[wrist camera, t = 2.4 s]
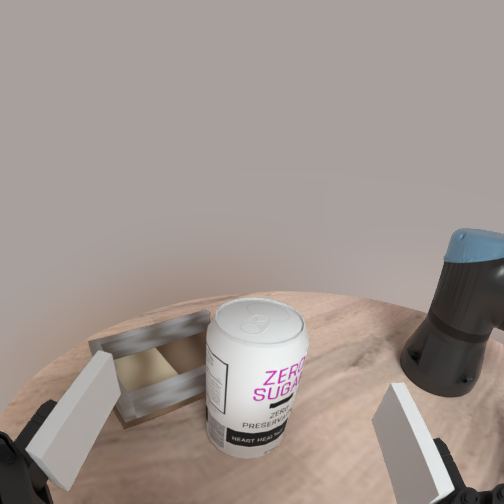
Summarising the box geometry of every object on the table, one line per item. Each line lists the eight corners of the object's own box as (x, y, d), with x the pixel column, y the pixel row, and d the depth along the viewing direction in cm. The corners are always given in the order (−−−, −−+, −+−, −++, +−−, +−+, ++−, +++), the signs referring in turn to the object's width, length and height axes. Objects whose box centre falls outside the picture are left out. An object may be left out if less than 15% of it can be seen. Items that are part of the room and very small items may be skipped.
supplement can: (229, 396, 32) (238, 286, 27) (293, 421, 28) (324, 310, 24) (191, 439, 25) (184, 323, 20) (263, 473, 21) (293, 364, 17)
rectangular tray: (237, 319, 49) (239, 299, 48) (289, 353, 41) (293, 331, 40) (91, 365, 32) (85, 342, 31) (124, 428, 24) (116, 405, 23)
